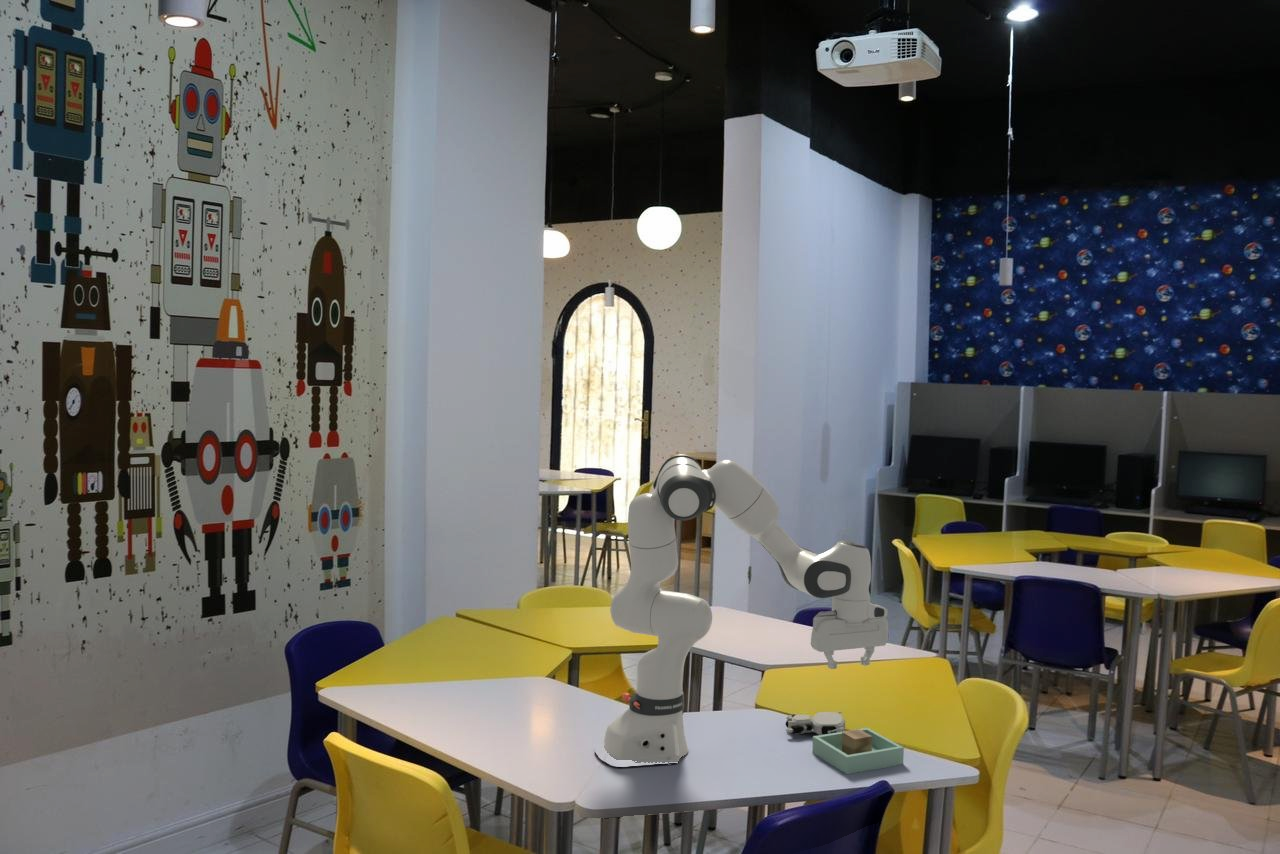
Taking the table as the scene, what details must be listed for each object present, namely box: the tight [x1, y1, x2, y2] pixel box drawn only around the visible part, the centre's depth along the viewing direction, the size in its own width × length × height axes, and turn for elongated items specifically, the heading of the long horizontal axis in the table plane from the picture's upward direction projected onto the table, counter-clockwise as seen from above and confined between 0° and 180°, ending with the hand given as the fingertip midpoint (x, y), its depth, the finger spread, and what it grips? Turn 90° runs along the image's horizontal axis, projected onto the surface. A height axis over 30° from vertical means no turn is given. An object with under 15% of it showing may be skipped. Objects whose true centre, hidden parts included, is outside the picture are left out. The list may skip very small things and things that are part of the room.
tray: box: [812, 727, 905, 775], centre depth 241 cm, size 16×14×4 cm
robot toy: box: [785, 711, 846, 736], centre depth 258 cm, size 12×4×15 cm
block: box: [842, 728, 872, 755], centre depth 242 cm, size 5×5×5 cm
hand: (848, 666), depth 243 cm, fingers open, 8 cm apart
